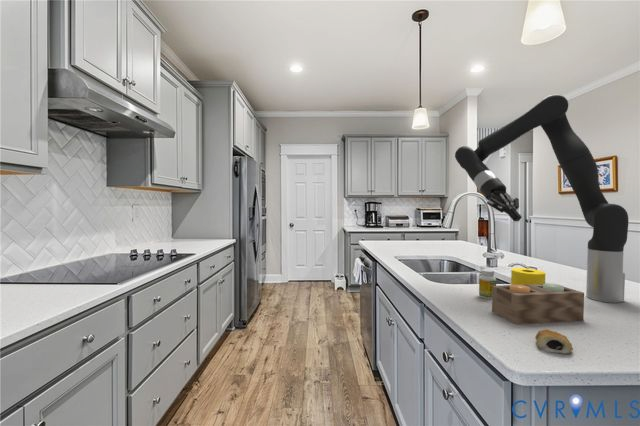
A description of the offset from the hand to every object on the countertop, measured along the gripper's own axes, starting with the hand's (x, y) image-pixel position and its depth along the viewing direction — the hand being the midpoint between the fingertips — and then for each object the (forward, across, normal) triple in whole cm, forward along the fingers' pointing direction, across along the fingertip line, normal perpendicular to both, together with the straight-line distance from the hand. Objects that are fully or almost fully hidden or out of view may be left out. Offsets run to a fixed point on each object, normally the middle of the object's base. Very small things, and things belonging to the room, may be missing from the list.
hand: (518, 219), depth 105 cm
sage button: (+25, -1, +6) cm, 26 cm away
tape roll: (+18, +8, +22) cm, 29 cm away
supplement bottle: (+15, -5, +25) cm, 29 cm away
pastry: (+40, -22, 0) cm, 45 cm away
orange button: (+23, -12, +8) cm, 27 cm away
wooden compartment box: (+28, -6, +11) cm, 31 cm away
